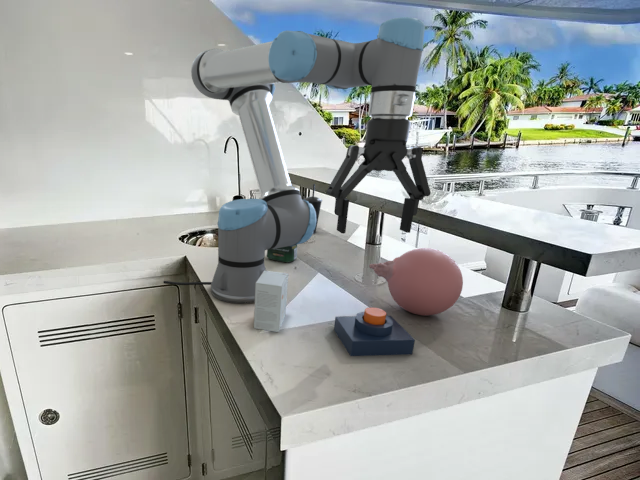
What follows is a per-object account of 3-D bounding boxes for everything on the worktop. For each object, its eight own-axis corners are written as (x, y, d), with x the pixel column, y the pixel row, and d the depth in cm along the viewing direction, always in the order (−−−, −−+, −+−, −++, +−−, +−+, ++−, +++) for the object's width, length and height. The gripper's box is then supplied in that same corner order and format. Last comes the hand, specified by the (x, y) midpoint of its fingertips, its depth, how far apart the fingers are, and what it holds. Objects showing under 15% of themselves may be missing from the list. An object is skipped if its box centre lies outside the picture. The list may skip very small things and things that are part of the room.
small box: (261, 312, 87) (263, 269, 84) (285, 316, 86) (288, 272, 82) (252, 328, 80) (254, 282, 76) (278, 333, 78) (282, 286, 75)
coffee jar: (263, 259, 124) (265, 202, 118) (273, 253, 131) (276, 199, 124) (290, 264, 120) (295, 206, 113) (299, 258, 126) (304, 202, 120)
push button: (350, 356, 71) (353, 332, 69) (333, 330, 80) (336, 308, 78) (412, 354, 72) (416, 331, 70) (388, 328, 81) (391, 307, 80)
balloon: (370, 290, 101) (379, 234, 96) (455, 307, 92) (469, 246, 87) (357, 312, 89) (366, 249, 84) (454, 334, 80) (470, 265, 74)
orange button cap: (368, 326, 72) (369, 316, 72) (360, 316, 76) (361, 307, 75) (388, 325, 73) (390, 316, 72) (379, 316, 76) (380, 307, 76)
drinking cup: (320, 234, 157) (325, 185, 150) (302, 233, 157) (306, 184, 150) (317, 229, 164) (321, 183, 158) (299, 229, 164) (303, 182, 158)
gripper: (330, 115, 64) (319, 236, 71) (465, 119, 67) (441, 235, 74) (316, 117, 71) (307, 227, 78) (439, 120, 74) (420, 226, 82)
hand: (373, 231), depth 76 cm, fingers open, 13 cm apart
